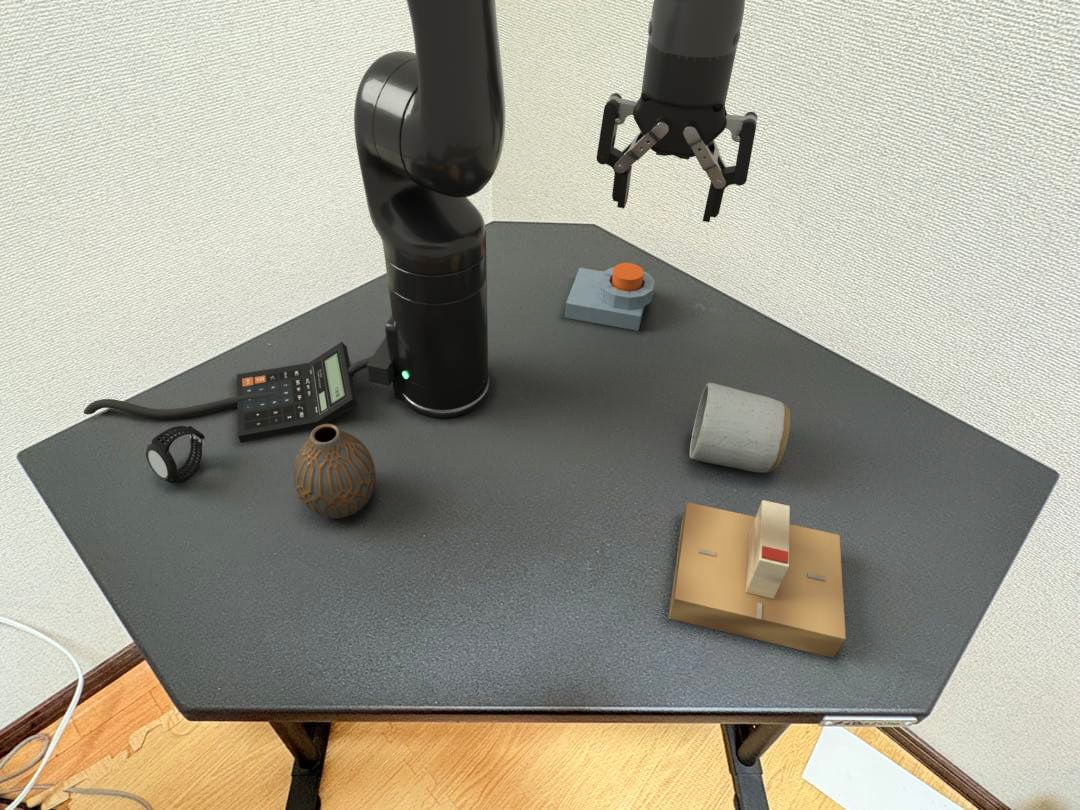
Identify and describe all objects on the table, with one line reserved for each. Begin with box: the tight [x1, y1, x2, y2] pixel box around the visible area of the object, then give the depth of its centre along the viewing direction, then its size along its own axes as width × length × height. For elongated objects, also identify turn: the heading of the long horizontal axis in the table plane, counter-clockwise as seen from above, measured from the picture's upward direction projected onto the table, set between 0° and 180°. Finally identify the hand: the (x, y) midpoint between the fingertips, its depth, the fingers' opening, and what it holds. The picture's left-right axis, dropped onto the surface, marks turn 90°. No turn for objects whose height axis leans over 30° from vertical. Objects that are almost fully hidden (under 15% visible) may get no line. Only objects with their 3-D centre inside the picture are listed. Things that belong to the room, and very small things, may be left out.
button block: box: [564, 266, 656, 332], centre depth 88 cm, size 10×8×4 cm
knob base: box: [668, 501, 847, 659], centre depth 60 cm, size 13×10×3 cm
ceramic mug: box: [689, 382, 791, 474], centre depth 71 cm, size 11×8×8 cm
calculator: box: [236, 341, 359, 443], centre depth 75 cm, size 9×12×3 cm
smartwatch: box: [145, 425, 206, 484], centre depth 66 cm, size 4×5×5 cm
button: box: [612, 262, 644, 292], centre depth 86 cm, size 4×4×2 cm
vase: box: [292, 423, 377, 519], centre depth 63 cm, size 7×7×9 cm
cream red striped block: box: [746, 499, 791, 599], centre depth 58 cm, size 6×2×5 cm, turn 165°
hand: (663, 211), depth 73 cm, fingers open, 8 cm apart
